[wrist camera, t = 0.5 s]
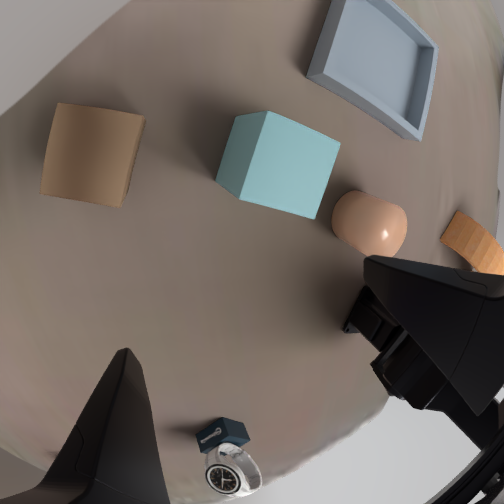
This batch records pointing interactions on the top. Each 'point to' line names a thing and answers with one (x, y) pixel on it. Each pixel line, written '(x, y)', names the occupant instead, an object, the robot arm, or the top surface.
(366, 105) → the tray
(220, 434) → the watch
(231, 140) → the teal block
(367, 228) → the terracotta cylinder
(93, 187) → the walnut cube
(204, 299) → the top surface
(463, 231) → the arch
